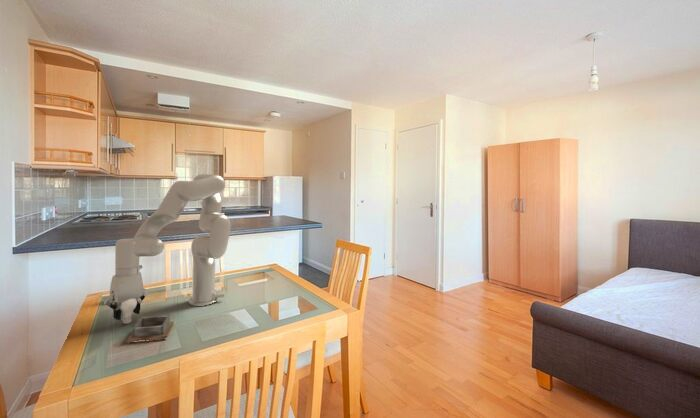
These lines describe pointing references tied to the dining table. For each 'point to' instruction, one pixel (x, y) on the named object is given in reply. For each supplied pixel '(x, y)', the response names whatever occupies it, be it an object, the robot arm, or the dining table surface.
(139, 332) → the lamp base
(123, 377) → the dining table surface
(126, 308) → the lightbulb
